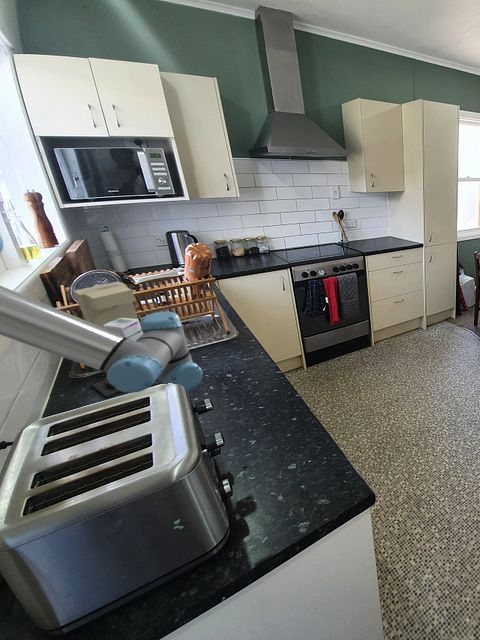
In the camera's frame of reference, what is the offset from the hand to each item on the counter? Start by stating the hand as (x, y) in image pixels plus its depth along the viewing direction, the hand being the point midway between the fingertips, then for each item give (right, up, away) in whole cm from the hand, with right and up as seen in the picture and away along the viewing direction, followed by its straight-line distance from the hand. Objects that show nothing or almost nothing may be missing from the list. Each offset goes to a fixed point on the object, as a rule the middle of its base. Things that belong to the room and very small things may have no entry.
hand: (120, 337), depth 102 cm
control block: (-4, -15, +5) cm, 17 cm away
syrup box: (+4, -9, +1) cm, 10 cm away
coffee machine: (-13, -9, +19) cm, 24 cm away
